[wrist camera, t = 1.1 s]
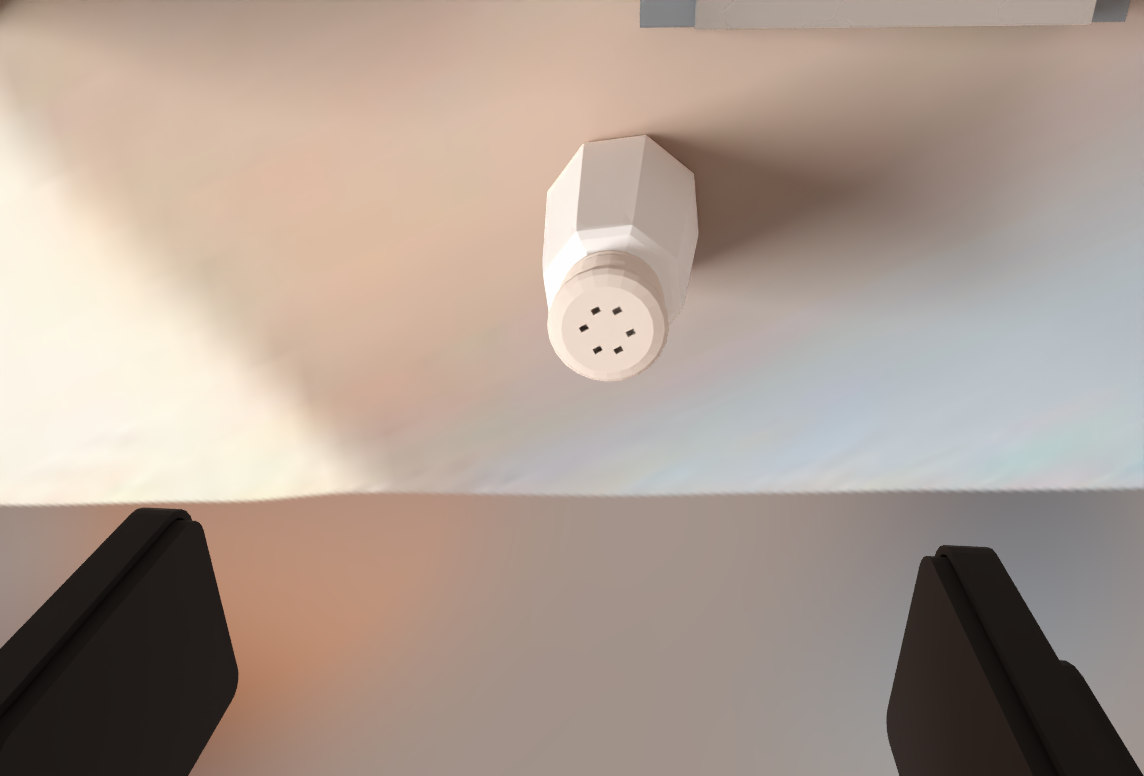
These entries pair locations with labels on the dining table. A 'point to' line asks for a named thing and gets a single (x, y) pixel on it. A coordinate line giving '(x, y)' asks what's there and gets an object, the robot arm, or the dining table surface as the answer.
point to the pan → (888, 13)
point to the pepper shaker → (617, 255)
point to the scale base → (674, 3)
